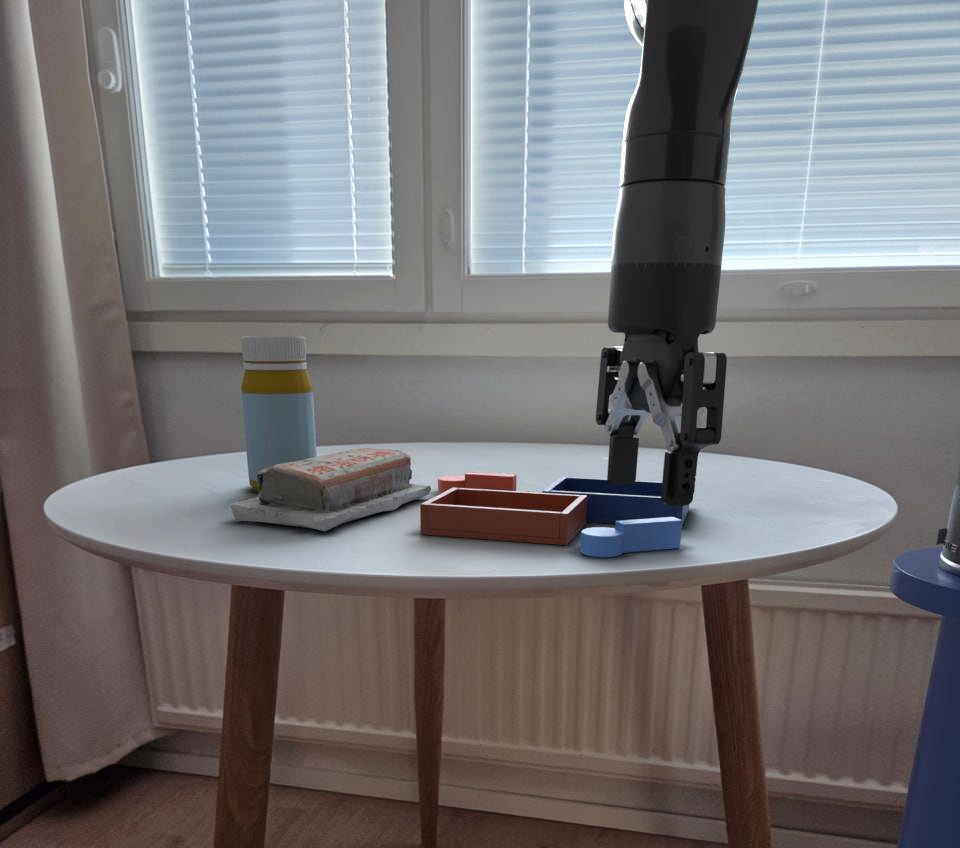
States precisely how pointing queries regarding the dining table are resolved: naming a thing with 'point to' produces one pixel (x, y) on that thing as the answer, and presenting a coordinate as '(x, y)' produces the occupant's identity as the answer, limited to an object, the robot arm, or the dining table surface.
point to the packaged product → (331, 489)
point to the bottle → (276, 402)
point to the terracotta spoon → (478, 481)
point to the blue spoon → (632, 537)
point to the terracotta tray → (504, 515)
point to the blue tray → (618, 499)
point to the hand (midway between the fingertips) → (647, 494)
